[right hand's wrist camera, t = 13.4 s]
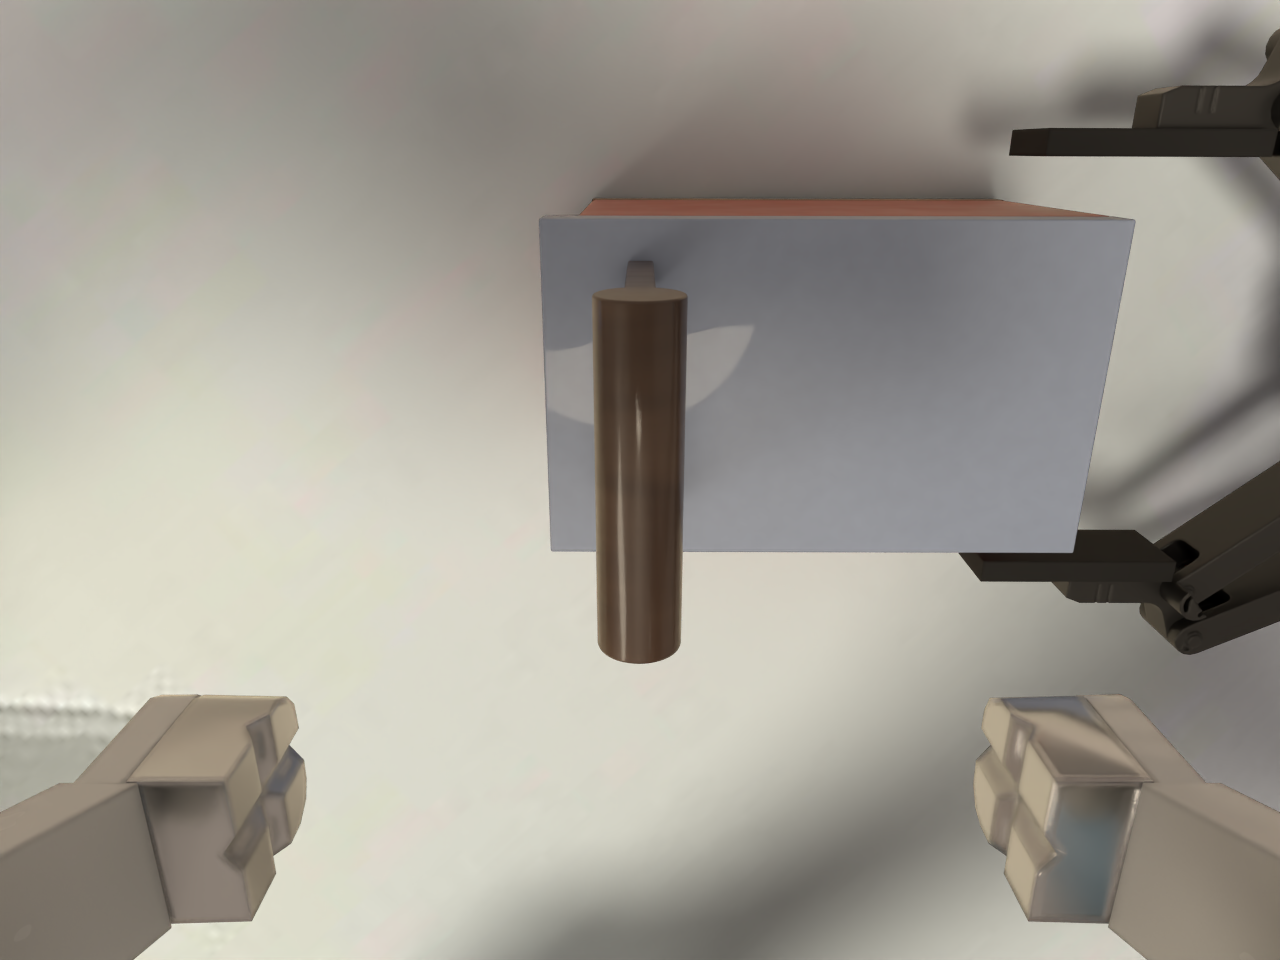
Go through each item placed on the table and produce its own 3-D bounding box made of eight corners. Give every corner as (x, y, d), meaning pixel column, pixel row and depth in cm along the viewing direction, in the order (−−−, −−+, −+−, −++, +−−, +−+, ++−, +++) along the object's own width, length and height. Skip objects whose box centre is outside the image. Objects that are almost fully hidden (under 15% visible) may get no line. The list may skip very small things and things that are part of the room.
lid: (554, 535, 28) (516, 701, 20) (543, 215, 25) (491, 249, 16) (1056, 537, 28) (1233, 703, 20) (1114, 216, 25) (1357, 251, 16)
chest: (597, 447, 37) (583, 535, 28) (593, 198, 33) (576, 214, 25) (961, 448, 37) (1056, 536, 28) (995, 199, 33) (1113, 216, 25)
